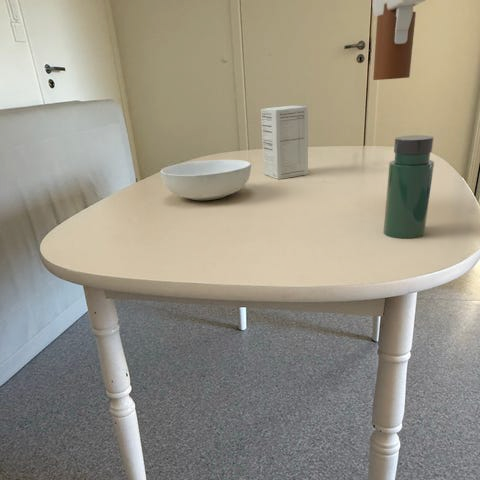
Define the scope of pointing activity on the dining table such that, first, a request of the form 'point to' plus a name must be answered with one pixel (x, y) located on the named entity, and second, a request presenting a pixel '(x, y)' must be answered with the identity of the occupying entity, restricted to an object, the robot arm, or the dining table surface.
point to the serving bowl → (206, 178)
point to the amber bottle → (392, 48)
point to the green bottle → (409, 187)
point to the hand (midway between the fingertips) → (394, 45)
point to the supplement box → (285, 141)
